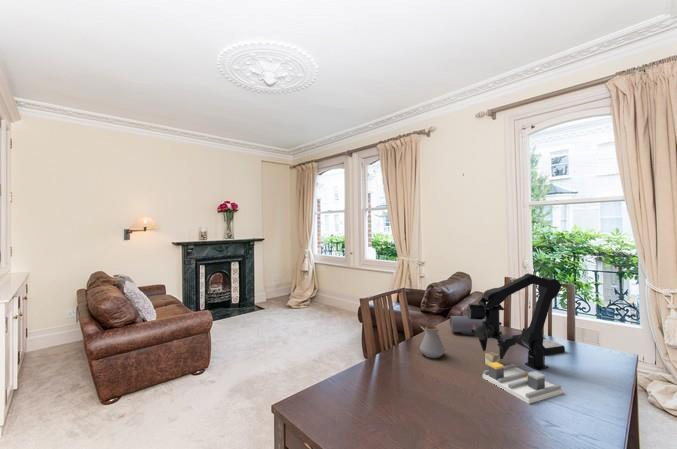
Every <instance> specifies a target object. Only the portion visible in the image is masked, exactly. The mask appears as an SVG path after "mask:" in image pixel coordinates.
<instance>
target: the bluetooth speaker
mask: <svg viewBox="0 0 677 449" xmlns="http://www.w3.org/2000/svg"><path fill="white" fill-rule="evenodd" d="M483 321H485V318H483V320H469V319H468V317H467V315H450V316H449V328H450V332H453V333H454V332H456V333H461V334H463V335H467V334H469V336H471V335H472V336H475V335H474V334H473V333H472V328H473V327H475V326H482V324H483Z"/></svg>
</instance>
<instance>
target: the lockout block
mask: <svg viewBox="0 0 677 449" xmlns="http://www.w3.org/2000/svg"><path fill="white" fill-rule="evenodd" d="M484 354H485V355H484V358H485V359H484V362H485V363H484V365H486V366H488V364H489V363H493V362H497V363H499V364H501V363H500V354H499V353H497V352H496V353H495V352H493V351H488V352H484Z"/></svg>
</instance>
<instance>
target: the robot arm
mask: <svg viewBox="0 0 677 449" xmlns="http://www.w3.org/2000/svg"><path fill="white" fill-rule="evenodd" d="M531 285H536V286H537V292H538V299H537V301H536V305H535V308H534V312H533V315H532V318H531V321H530V324H529V326H528V327H527V328H524V327H522V330H521V335H520V334H519V335H520V337H521V341H522V343H523V344H524V345H525V347H524V348H525V349H528V351H527V362H525V363H524V364H525V366H528V367H531V368H533V369H535V370H538V371H541V370H545V369H548V368H549V366H548V365H546V358H545V357H548V356H549V355H548V353H549V351H548V350H547V349H546V348H545V347H544V346H543V338H544V334H543V329H544V326H545V324H546V320H547V318H548V314H549V310H550V307H551V304H552V301H553V300H554V298H556V297H557V296H558V294H559V293H560V291H561V288H562V284H561V282H560V281H559V280H558V279H555V278H552V277H549V276H543V277H541V276H537V275H536V274H532V273H530V272H529V273H524V275H522V276H520V277H518V278H517V279H515V280H512V281H511V282H508V283H506V284H505V285H502V286H500V287H494V288H490V289H486V290H485V291H484V292H483V295H482V296H481V298H480V300H478V302H477V303H468V305H467V307H466V316H467V317H468V319H469V320H483V318H485V321H483V324H482V326H475V327H473V328H472V333H473V334H474V335H473V336H475V337H476V338H477V339H478V341H479V344H480V347H481V349H482V352H485V351H486V349H487V344H488V339H490V338H492V339H494V340H497V344H496V345H497V346H498V348H499V360H503V359H504V357H505V355H506V354H507V351H509V349H510V347H514V346H516V343H515V339H514V338H512V336H509V335H502V334H503V332H502V331H501V330H500V328H501V327H500V326H502V325H503V323H502V322H501V320H500V311H505V308H504V307H503V306H502V303H503V302H504V301H505V300H506V299H507V298H508V297H509V296H511V295H513V294H516V293H518V292H519V291H521V290H523V289H525V288H527V287H530V286H531Z"/></svg>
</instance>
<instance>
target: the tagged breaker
mask: <svg viewBox="0 0 677 449" xmlns="http://www.w3.org/2000/svg"><path fill="white" fill-rule="evenodd" d="M487 366H488V370H489V376H490V377H492V378H494V379H496V380H497V379H499V378H503V377H504V366H505V365H504V364H501V363H500V364H499V363H497V362H493V363H489V364H488V365H487Z"/></svg>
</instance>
